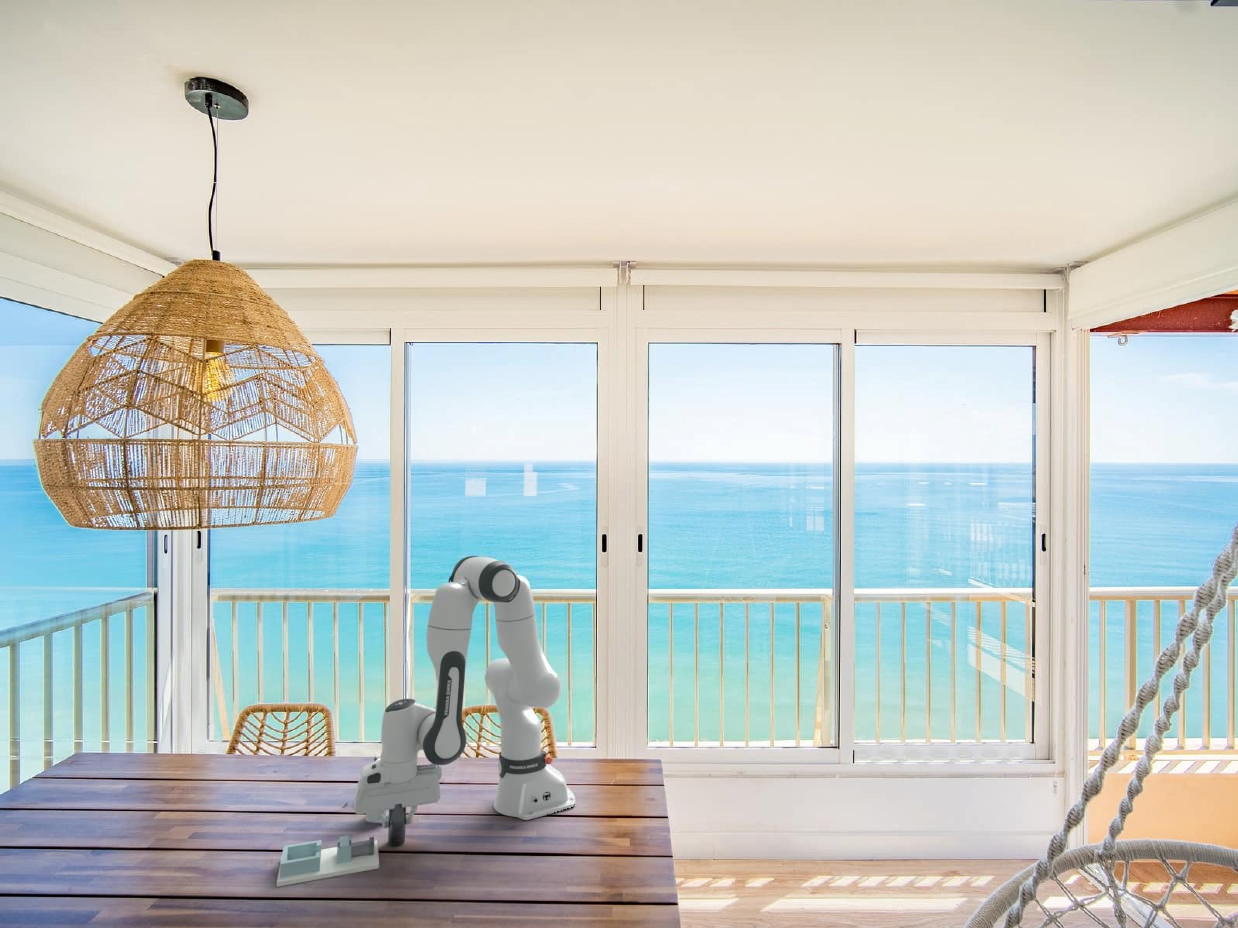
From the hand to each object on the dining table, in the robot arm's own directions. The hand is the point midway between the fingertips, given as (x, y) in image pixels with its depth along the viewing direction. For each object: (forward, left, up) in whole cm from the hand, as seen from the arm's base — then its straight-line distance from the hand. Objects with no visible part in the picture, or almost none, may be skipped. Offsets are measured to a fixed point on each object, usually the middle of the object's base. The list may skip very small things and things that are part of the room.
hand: (397, 825), depth 165 cm
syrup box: (+3, -14, -4) cm, 15 cm away
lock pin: (+10, +5, -3) cm, 11 cm away
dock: (+16, +5, -4) cm, 17 cm away
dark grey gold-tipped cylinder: (0, 0, -4) cm, 4 cm away
